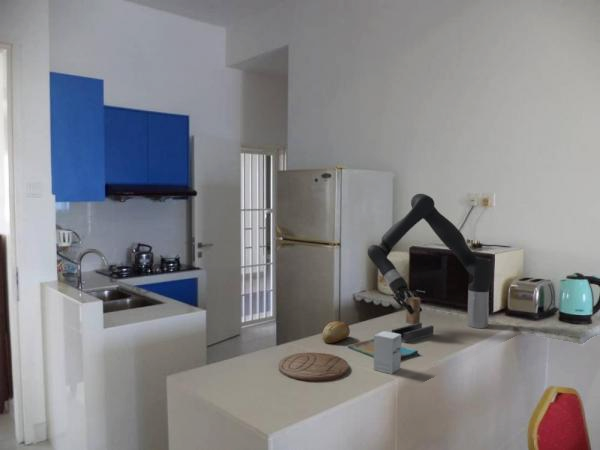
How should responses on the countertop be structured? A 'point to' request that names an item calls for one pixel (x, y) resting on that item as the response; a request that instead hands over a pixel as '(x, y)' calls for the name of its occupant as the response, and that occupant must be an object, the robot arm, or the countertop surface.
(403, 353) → the dish towel
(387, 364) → the supplement box
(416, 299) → the tan wooden pillar block
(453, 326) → the countertop surface
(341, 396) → the countertop surface
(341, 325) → the bread roll
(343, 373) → the trivet
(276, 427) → the countertop surface
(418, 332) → the floor track
